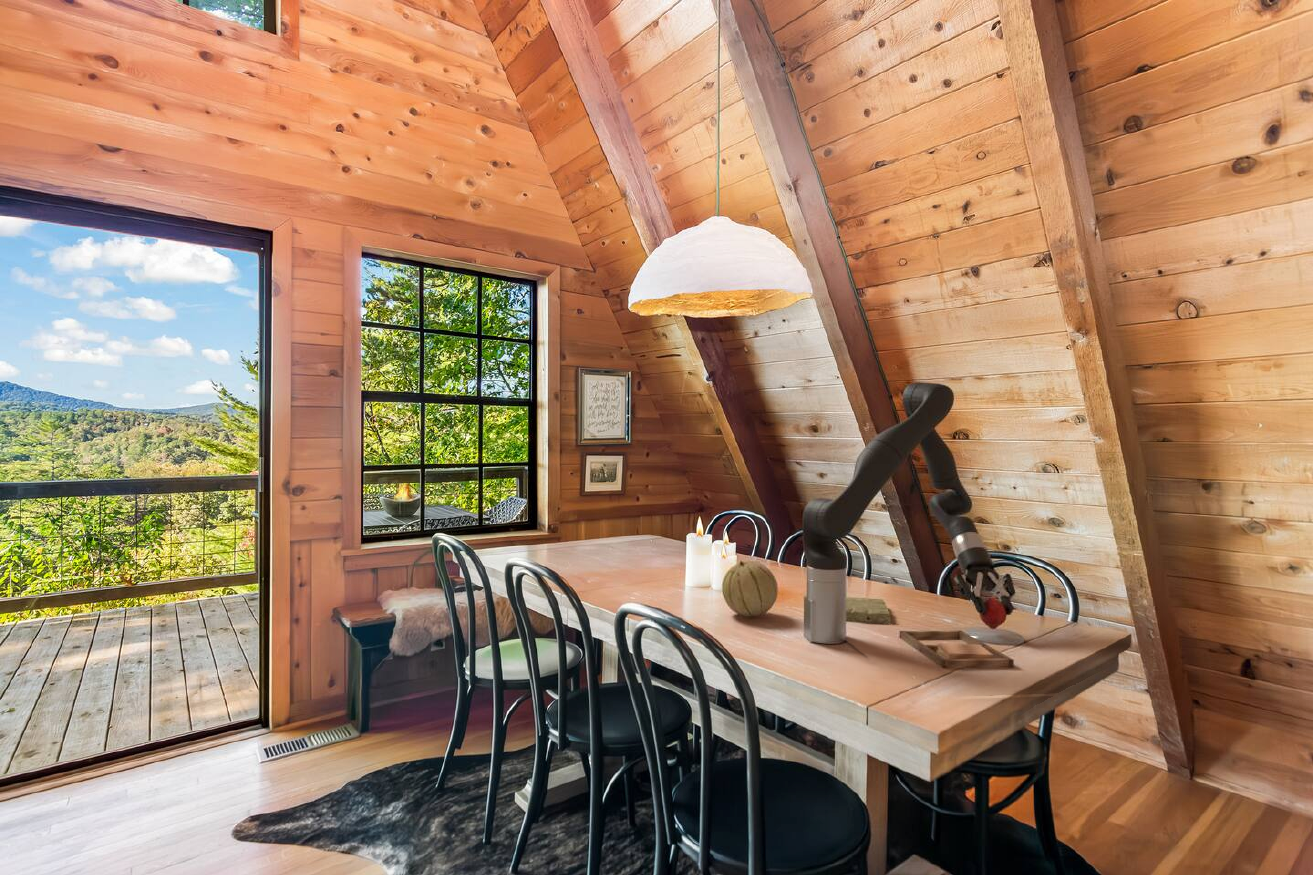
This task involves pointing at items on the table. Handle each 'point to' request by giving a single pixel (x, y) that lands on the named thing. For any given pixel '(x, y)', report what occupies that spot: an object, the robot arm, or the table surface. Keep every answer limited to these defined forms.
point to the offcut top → (964, 651)
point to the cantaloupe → (749, 588)
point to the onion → (993, 613)
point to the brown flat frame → (931, 653)
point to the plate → (995, 636)
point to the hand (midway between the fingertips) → (996, 612)
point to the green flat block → (867, 610)
